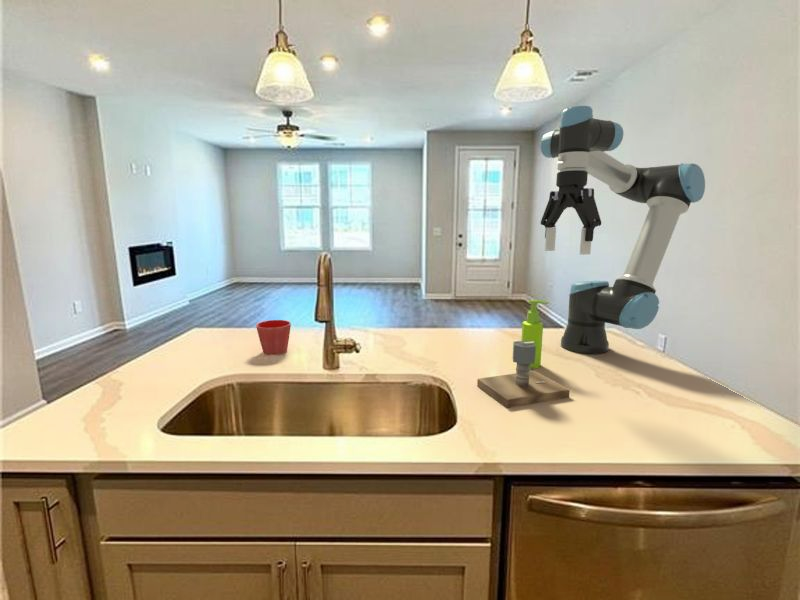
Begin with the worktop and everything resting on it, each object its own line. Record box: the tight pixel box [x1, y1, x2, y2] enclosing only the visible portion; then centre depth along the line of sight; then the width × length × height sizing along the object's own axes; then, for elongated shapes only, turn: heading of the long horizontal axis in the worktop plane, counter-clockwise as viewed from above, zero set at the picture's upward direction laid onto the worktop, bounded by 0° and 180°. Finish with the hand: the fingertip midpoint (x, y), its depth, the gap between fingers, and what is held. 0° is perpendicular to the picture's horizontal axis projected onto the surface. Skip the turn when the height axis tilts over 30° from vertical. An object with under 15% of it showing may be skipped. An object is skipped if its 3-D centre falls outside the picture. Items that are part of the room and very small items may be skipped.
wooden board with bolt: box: [476, 363, 571, 408], centre depth 108 cm, size 18×14×8 cm
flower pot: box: [256, 319, 292, 356], centre depth 141 cm, size 11×11×10 cm
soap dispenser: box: [521, 299, 549, 369], centre depth 127 cm, size 6×7×20 cm
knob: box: [512, 340, 536, 364], centre depth 107 cm, size 6×5×5 cm
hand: (566, 252), depth 114 cm, fingers open, 13 cm apart
